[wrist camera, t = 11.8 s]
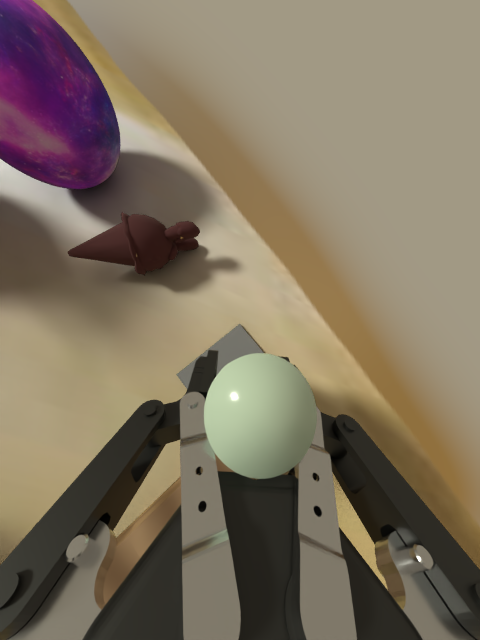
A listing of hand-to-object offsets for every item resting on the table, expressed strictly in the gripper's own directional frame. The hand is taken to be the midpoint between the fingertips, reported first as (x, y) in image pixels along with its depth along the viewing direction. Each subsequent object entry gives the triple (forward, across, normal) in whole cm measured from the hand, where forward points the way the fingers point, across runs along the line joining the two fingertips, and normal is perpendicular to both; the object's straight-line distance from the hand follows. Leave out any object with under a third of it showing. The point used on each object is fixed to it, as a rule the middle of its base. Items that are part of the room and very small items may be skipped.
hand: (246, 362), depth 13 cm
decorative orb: (+26, +26, -12) cm, 38 cm away
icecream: (+16, +14, -2) cm, 21 cm away
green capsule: (+3, 0, +6) cm, 6 cm away
